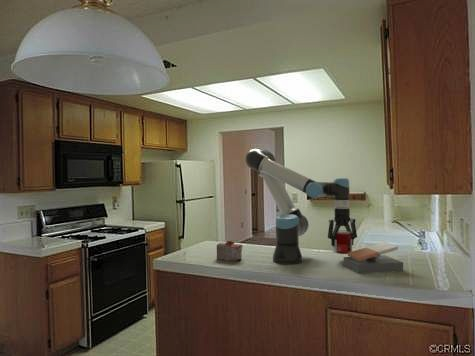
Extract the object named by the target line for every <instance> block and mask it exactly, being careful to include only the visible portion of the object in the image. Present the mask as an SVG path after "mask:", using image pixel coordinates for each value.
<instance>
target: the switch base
mask: <svg viewBox="0 0 475 356" xmlns="http://www.w3.org/2000/svg"><path fill="white" fill-rule="evenodd" d="M343 266H344V267H345V268H348V269H349V270H351V271H353V272H355V273H356V274H375V273H374V272H378V273H391V272H392V271H395V272H404V261H401V260H398V259H396V258H393V257H391V256H388V255H385V254H381V255H380V257H377V256H374V257H371V258H367V259H364V260H360V261H358V260H356V259H354V258H352V257H350V256H344V257H343ZM392 273H393V272H392Z"/></svg>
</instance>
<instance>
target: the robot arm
mask: <svg viewBox="0 0 475 356" xmlns="http://www.w3.org/2000/svg"><path fill="white" fill-rule="evenodd" d="M245 164H246V165H247V167H248V168H250V169H251V170H254V171H256V173H257V175H258V177H261V178H263V180H264V183H265V184H266V186H267V188H268V190H269V192H270V194H271V196H272V198H273V200H274V202H275V204H276V206H277V208H278V210H279V212H280V214H281V215H278V216H276V218H275V243H276V244H275V248H274V252H273V254H272V261H273V262H274V263H277V264H282V265H283V264H284V265H296V264H300V263H303V255H302V252H301V250H300V249H301V248H300V245H299V243H300V241H299V239H300V238H299V237H300V236H303V235H305V233H307V231H308V229H309V225H310V224H309V221H308V218H307V216H305V215H304V214H302V212H301V210H300V209H299V208H298V207H295V204H294V202H293V200H292V199H291V196H290V195H289V193H288V191H287V189H286V187H285V185H284V184H283V183H285V184H287V185H289V186H291V187H293V188H295V189H297V190H299V191H301V192H302V193H305V194H306V195H307V197H310V198H312V199H317V198H322V197H333V198H334V200H333V201H334V203H333V205H334V211H333V212H334V218H331V219H328V224H329V225H328V232H327V238H328V239H330V243H331V247H332V252H333V253H335V254H338V253H337V240H335V238H336V235H337V232H338V230H340V228H341V227H344V228H345V230H346V231H348V232H350V233H351V252H352V251H353V246H354V242H355V241H354V240H355V239H356V238H358V234H357V228H356V227H357V226H356V219H355V218H351V217H350V216H351V214H350V211H351V210H350V205H351V204H350V180H349V179H348V178H347V177H346V178H345V177H344V178H341V177H340V178H339V177H338V178H334V179H333V181H331V182H330V181H329V182H326V181H325V182H323V181H320V182H319V181H315V180H314V179H311V178H309V177H307V176H305V175H303V174H301V173H298V172H296V171H295V170H293V169H290V168H288V167H286V166H284V165H282V164H279V163H277V162H276V157H275V155H274V154H273V153H272V152H270V151H269V150H267V149H259V148H253V149H250V150H249V151H248V152H247V153H246V155H245ZM349 223H350V224H349Z"/></svg>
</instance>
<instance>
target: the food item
mask: <svg viewBox="0 0 475 356" xmlns="http://www.w3.org/2000/svg"><path fill="white" fill-rule="evenodd" d="M242 250H243V244H240V243H239V244H238V243H235V242H234V241H233V240H228V241H226V242H219V243H217V244H216V260H218V261H219V260H220V261H226V262H229V261H230V262H231V261H232V262H238V261H240V260H242V259H243V257H242V253H243V252H242Z"/></svg>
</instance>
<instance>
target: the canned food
mask: <svg viewBox="0 0 475 356" xmlns="http://www.w3.org/2000/svg"><path fill="white" fill-rule="evenodd" d="M335 240H337V253H336V254H339V255H348V253H349V252H351V233H350V232H348V231H347V230H346V229H345V230H343V229H341V230H340V229H339V230H338V232H337V235H336V238H335Z"/></svg>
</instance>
